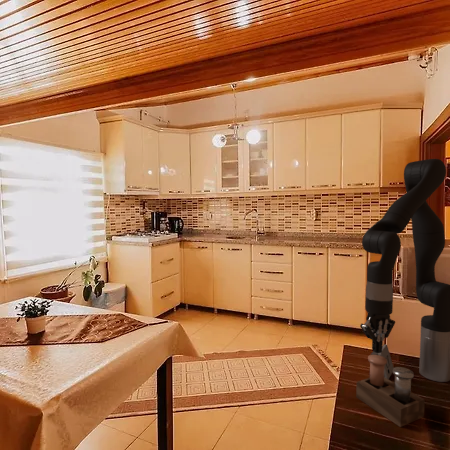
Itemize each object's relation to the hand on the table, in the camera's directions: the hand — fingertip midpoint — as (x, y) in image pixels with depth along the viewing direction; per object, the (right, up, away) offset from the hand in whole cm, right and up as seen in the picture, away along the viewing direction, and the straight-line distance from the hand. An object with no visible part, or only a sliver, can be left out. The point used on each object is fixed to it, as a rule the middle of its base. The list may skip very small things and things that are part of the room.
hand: (377, 351), depth 99 cm
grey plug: (+4, -10, -7) cm, 13 cm away
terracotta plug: (0, -10, +1) cm, 10 cm away
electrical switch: (+10, -14, +16) cm, 23 cm away
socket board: (+2, -15, -3) cm, 16 cm away
